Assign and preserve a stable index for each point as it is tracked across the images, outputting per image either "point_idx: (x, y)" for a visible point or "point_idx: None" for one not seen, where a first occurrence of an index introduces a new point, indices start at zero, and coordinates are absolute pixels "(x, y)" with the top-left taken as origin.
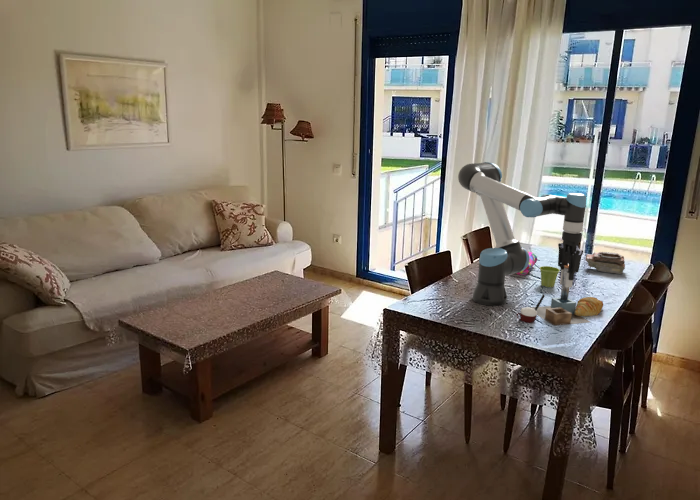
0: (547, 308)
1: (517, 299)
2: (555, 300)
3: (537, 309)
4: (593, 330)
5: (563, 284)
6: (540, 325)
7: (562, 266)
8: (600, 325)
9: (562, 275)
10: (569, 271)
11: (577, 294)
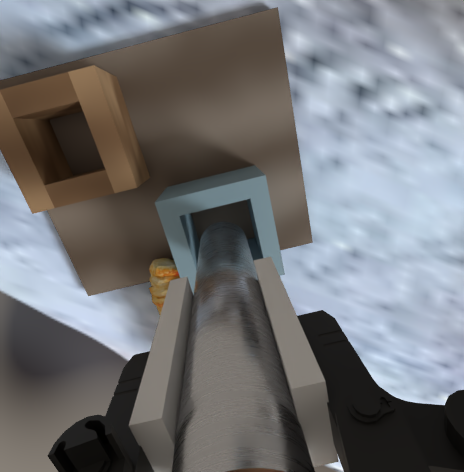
0: (96, 76)
1: (455, 22)
2: (222, 185)
3: (249, 80)
4: (12, 274)
5: (211, 276)
6: (10, 5)
7: (347, 454)
8: (83, 322)
9: (272, 326)
10: (79, 468)
11: (445, 363)
